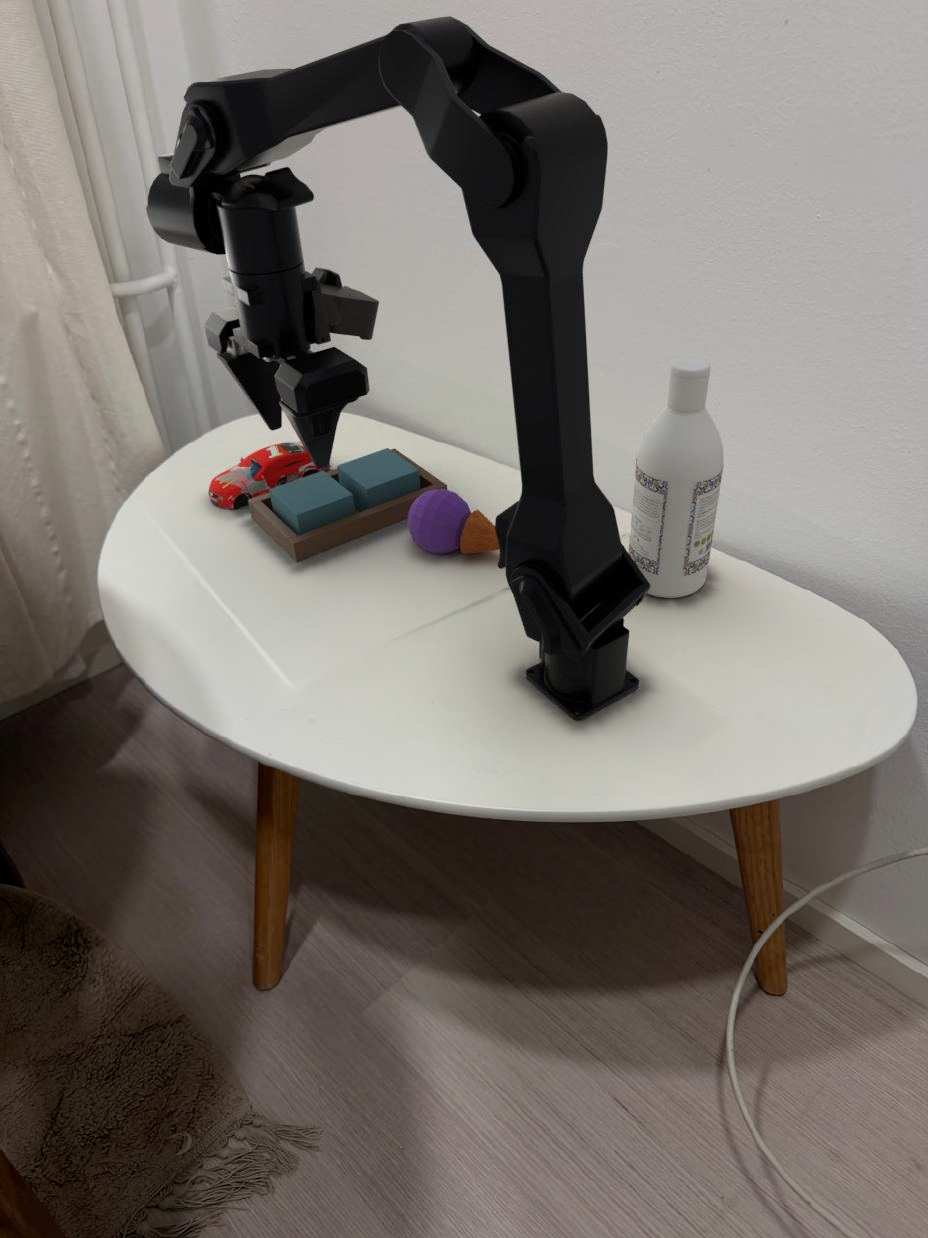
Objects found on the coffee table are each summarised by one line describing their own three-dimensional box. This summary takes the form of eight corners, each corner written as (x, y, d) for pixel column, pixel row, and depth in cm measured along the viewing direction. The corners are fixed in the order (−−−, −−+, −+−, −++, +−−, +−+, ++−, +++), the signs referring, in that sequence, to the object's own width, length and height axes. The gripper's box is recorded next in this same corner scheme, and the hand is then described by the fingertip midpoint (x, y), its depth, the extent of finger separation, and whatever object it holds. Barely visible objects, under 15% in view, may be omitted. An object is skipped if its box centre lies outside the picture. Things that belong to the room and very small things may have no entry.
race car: (223, 520, 93) (214, 485, 90) (202, 498, 96) (194, 464, 94) (338, 478, 98) (333, 445, 96) (315, 459, 102) (309, 426, 99)
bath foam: (703, 557, 84) (734, 345, 72) (707, 603, 79) (742, 382, 66) (627, 553, 85) (644, 343, 73) (625, 598, 80) (644, 380, 67)
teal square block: (421, 500, 93) (419, 469, 91) (370, 520, 90) (366, 489, 88) (390, 477, 97) (387, 447, 95) (340, 495, 94) (336, 465, 92)
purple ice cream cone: (600, 578, 75) (392, 508, 82) (596, 625, 80) (399, 555, 87) (627, 532, 79) (425, 468, 86) (622, 579, 83) (430, 515, 90)
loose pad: (357, 525, 90) (353, 494, 88) (302, 546, 87) (296, 515, 85) (328, 500, 94) (323, 470, 91) (274, 520, 91) (268, 489, 89)
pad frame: (448, 507, 93) (447, 484, 91) (297, 567, 85) (293, 543, 84) (396, 469, 99) (394, 447, 98) (252, 522, 92) (247, 499, 90)
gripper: (419, 268, 68) (434, 458, 77) (305, 219, 80) (330, 388, 90) (282, 303, 63) (315, 501, 73) (184, 245, 75) (223, 420, 85)
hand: (298, 447), depth 80 cm, fingers open, 9 cm apart
